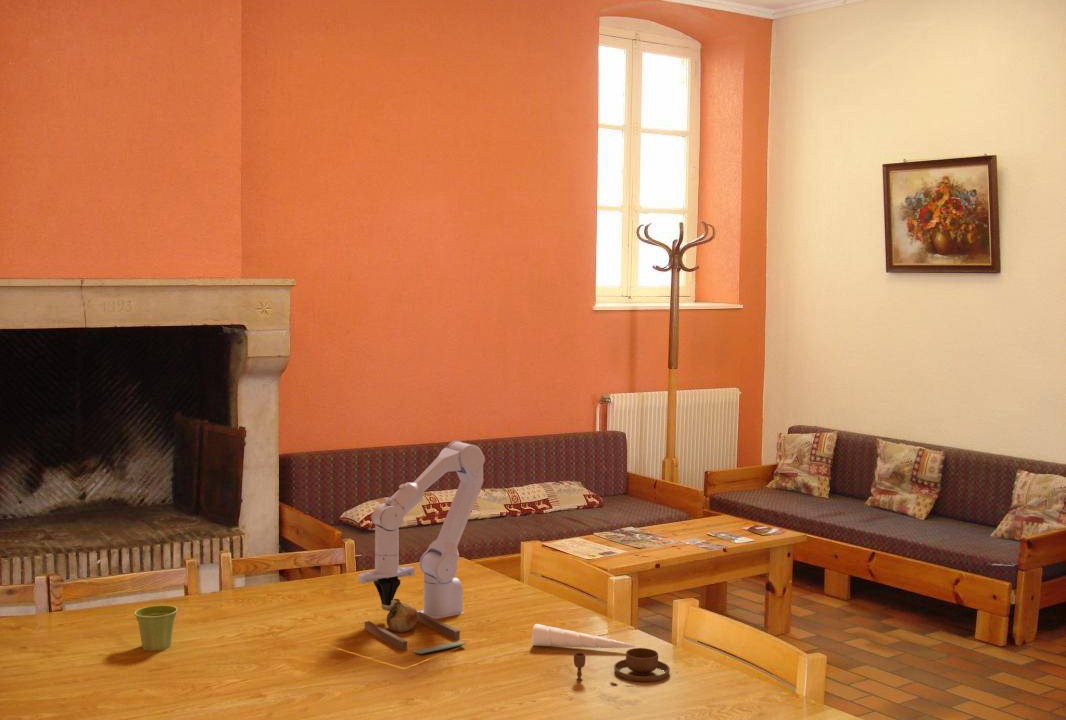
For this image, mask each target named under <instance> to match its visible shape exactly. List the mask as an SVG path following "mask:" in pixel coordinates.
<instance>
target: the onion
mask: <svg viewBox="0 0 1066 720" xmlns="http://www.w3.org/2000/svg"><path fill="white" fill-rule="evenodd" d="M381 609H382V610H384V611H387V612H388V613H387V615H386V625H387V627H388V629H390V630H391V631H392V632H396V633H405V632H409V631H411V630H412V629H414V628H415V627H416V626H415V625H416V624H417V623H418V621H417V620H418V612H417V611H418V610H417V608H415V607H414V606H413V605H410V604H407V603H403V602H402V601H401V599H399V598H393V601H391V605H390V606H388V605H382V604H381Z"/></svg>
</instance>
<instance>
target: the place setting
mask: <svg viewBox="0 0 1066 720" xmlns="http://www.w3.org/2000/svg"><path fill="white" fill-rule="evenodd" d="M573 664H574V666H575V668H577V673H576V676H577V678H576V679H575V681H576V682H583V681H584V679H583V678H582V676H583V673H582V669H583V668H584V667H585V666H586V653H585V652H575V653H574V654H573ZM613 668H614V672H615V673H616V675H617V676H618V677H620V678H621V679H623V680H627V681H631V682H635V683H636V682H639V683H653V682H658V681H659V682H660V681H662V680H665V678H667V677H668V676H669V674H670V670H671V669H670V666H669V665H668V664H666V662H663V661H659V652H657V651H656V650H654V649H650V648H645V647H637V648H635V647H633V648H630V649H627V650H626V652H625V659H622V660H619V661H617V662H615V664H614V666H613ZM625 668H628V669H629V670H630V671H631V672H632V674H629V673H625V672H622V671H621V670H622V669H625ZM658 668H660V669H661V670H664V672H665V673H661V674H657V675H656V674H655V675H651V673H652V672H654V671H655V670H656V669H658ZM660 669H659V670H660ZM661 670H660V671H661ZM633 674H634V675H633ZM609 685H611V686H614V687H618V684H617V682H616V683H615V682H612V681H610V683H609ZM625 687H631V688H634V687H635V686H634V685H627V684H626V685H625Z"/></svg>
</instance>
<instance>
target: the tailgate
mask: <svg viewBox="0 0 1066 720" xmlns="http://www.w3.org/2000/svg"><path fill="white" fill-rule="evenodd" d="M466 645H467V642H462V641H461V642H460V641H454V642H450V643H444V644H440V645H435V646H430V647H426V648H420V649H416V650H415V649H414V650H411V652H412V653H414V654H418V655H419V654H420V655H422V654H427V653H431V652H435V651H436V652H437V651H440V650H447V649H450V648H455V647H461V646H466Z"/></svg>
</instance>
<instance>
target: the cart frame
mask: <svg viewBox="0 0 1066 720" xmlns="http://www.w3.org/2000/svg"><path fill="white" fill-rule="evenodd" d="M417 622H419V623H421V624H423V625H425V626H426V627H429V628H431V629H433V630H435V631H437V632H439V633H441V634H442V635H444V636H446V637H449V638H451V639H453V640H455V641H456V640H460V639H461V636H460V635H461V633H460V632H461V631H460V630H458V629H456V628H455V627H452V626H450V625H448V624H446V623H445V622H442V621H440V620H438V619H434V618H432V617H430V616H428V615H426V614H423V613H421V612H418V620H417ZM364 631H366V632H368V633H370V634H372V635H374V636H375V637H377V638H378V639H380V640H382V641H384V642H385V643H388V644H390V645H391V646H392V647H394V648H396V649H398V650H400V651H402V652H405V651H408V641H407V640H406V639H403V638H401V637H399V636H398V635H396V634H394V633H392V632H390V631H388V630H387V629H385V628H383V627H381V626H379V625H377V624H376V623H374V622H371V621H369V620H368V621H364Z"/></svg>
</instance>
